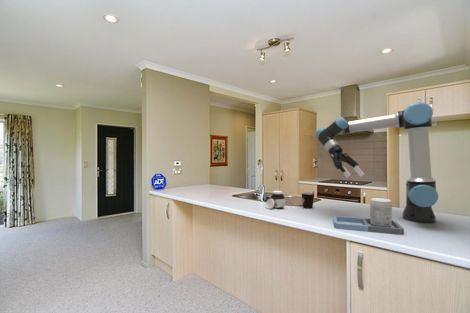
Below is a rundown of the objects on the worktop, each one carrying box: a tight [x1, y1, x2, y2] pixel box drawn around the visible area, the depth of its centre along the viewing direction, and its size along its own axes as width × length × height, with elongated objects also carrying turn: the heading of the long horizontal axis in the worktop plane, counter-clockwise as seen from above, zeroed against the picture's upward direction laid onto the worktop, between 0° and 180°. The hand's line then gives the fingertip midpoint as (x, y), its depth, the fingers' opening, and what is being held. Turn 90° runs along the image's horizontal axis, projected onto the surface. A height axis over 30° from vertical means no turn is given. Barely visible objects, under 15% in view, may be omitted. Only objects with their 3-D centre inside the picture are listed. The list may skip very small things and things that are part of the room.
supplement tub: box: [369, 197, 393, 228], centre depth 122 cm, size 10×10×15 cm
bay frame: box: [332, 215, 405, 236], centre depth 125 cm, size 30×16×2 cm, turn 70°
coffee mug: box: [301, 192, 315, 210], centre depth 170 cm, size 12×9×10 cm
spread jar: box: [265, 190, 286, 210], centre depth 167 cm, size 12×11×12 cm
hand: (355, 176), depth 134 cm, fingers open, 13 cm apart
